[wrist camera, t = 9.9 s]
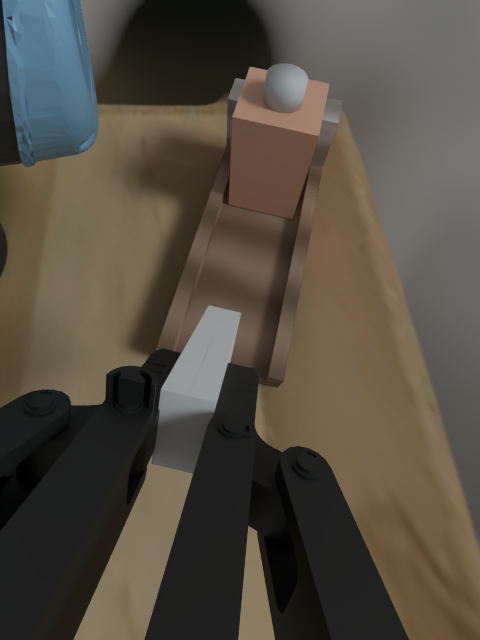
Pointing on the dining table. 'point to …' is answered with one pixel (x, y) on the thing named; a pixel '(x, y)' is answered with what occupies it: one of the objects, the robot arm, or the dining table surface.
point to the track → (249, 264)
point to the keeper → (274, 138)
